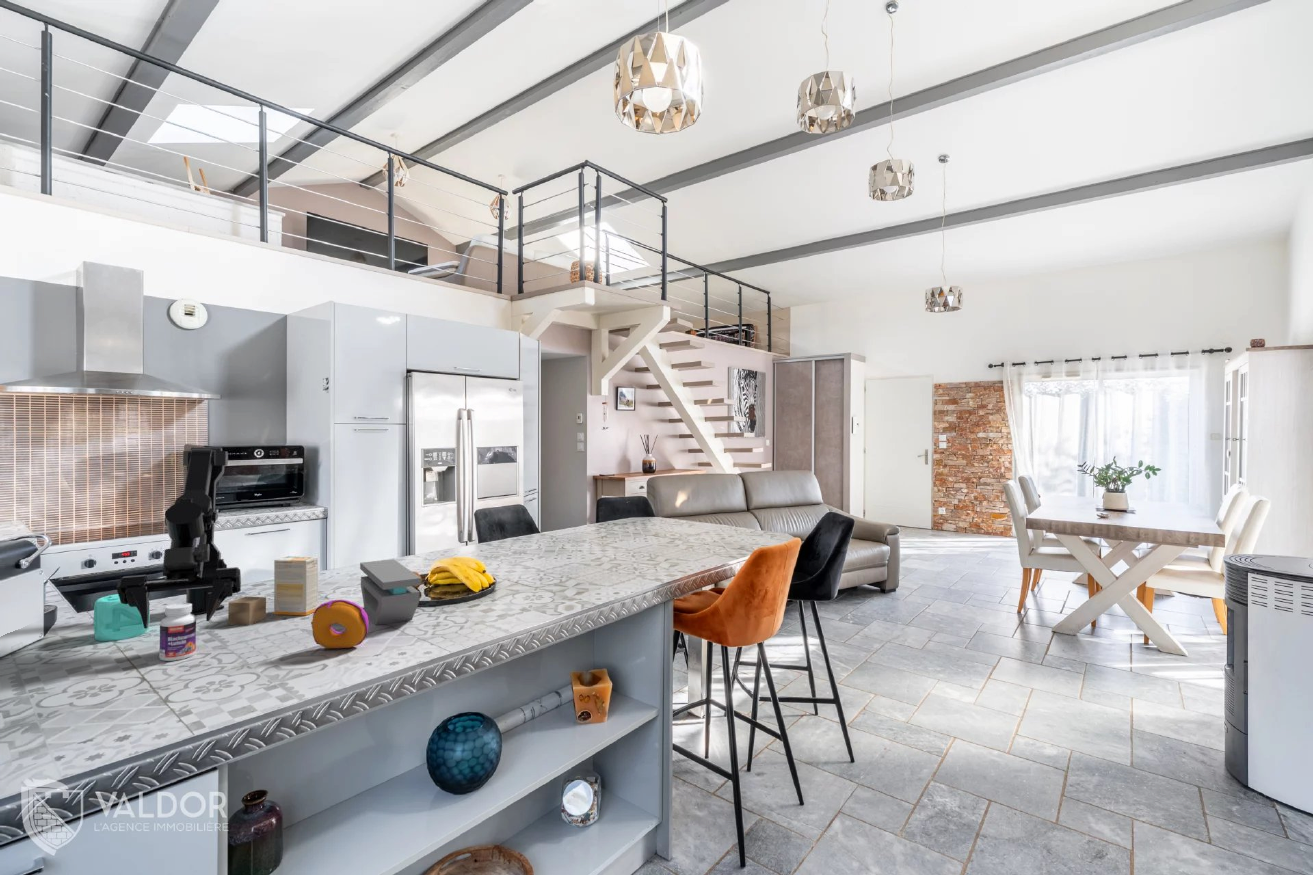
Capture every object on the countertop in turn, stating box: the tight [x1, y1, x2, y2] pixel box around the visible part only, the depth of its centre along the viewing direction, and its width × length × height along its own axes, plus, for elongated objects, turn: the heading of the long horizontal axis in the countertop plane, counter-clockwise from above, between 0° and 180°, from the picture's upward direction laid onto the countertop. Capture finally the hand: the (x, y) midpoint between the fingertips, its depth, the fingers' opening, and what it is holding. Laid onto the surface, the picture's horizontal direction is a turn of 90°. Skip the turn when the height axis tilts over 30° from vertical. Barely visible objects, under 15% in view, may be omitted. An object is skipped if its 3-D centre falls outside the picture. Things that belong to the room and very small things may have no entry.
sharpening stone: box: [359, 558, 422, 626], centre depth 140 cm, size 25×8×11 cm, turn 37°
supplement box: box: [273, 555, 319, 616], centre depth 142 cm, size 8×5×13 cm, turn 84°
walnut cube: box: [227, 596, 267, 626], centre depth 135 cm, size 5×5×5 cm
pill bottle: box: [158, 602, 197, 662], centre depth 113 cm, size 5×5×10 cm
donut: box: [310, 599, 370, 650], centre depth 118 cm, size 8×9×10 cm
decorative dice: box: [93, 593, 151, 642], centre depth 125 cm, size 8×8×8 cm
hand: (177, 623), depth 112 cm, fingers open, 9 cm apart
